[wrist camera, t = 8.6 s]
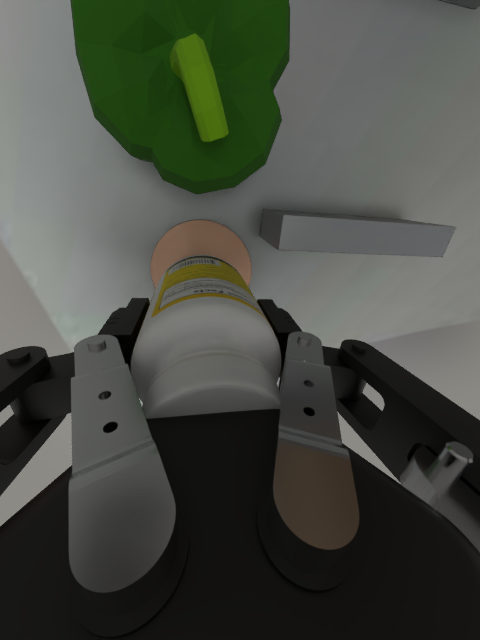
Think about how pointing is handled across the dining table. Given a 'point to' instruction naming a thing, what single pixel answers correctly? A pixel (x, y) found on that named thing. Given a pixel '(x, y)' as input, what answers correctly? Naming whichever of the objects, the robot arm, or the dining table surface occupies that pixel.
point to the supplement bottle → (205, 344)
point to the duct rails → (356, 227)
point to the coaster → (200, 247)
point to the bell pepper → (186, 82)
